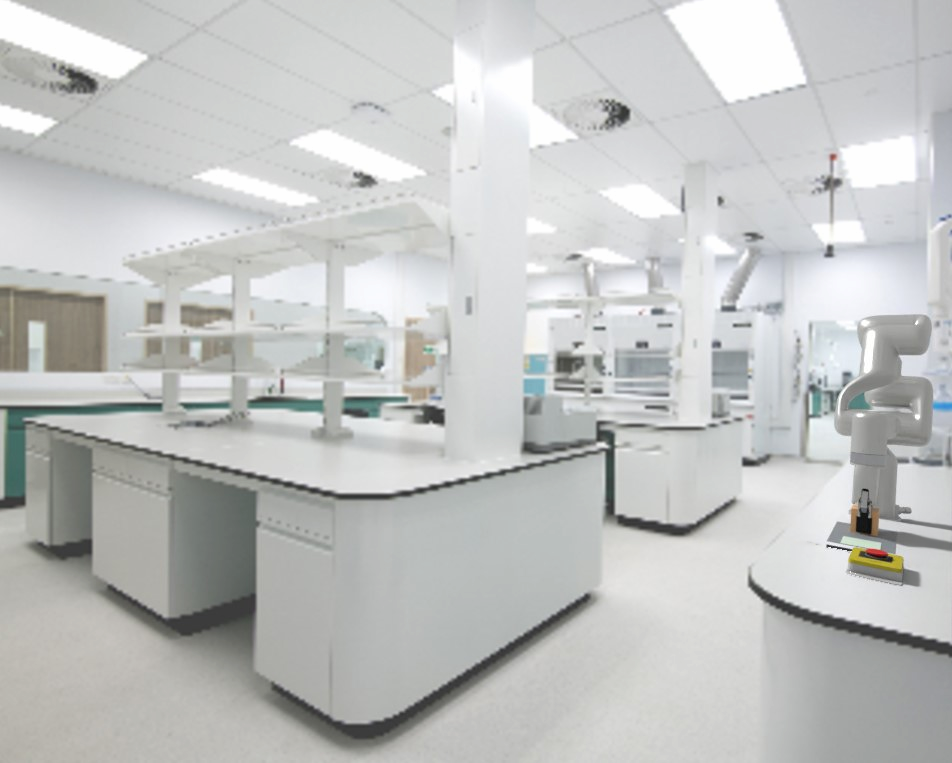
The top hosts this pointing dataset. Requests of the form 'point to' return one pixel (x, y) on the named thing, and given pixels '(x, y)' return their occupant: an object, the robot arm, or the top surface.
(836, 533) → the base plate
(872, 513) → the tan wooden cube
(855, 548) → the emergency button
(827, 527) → the top surface
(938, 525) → the top surface
